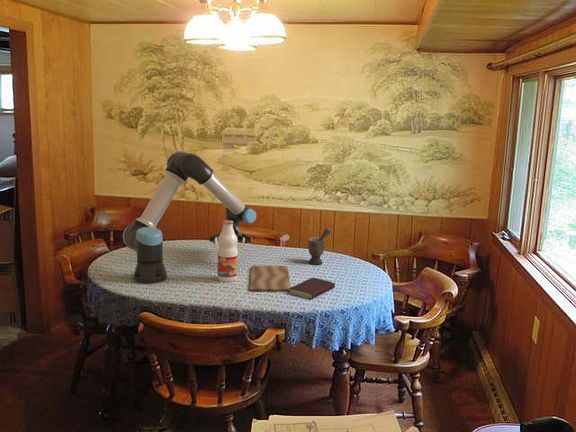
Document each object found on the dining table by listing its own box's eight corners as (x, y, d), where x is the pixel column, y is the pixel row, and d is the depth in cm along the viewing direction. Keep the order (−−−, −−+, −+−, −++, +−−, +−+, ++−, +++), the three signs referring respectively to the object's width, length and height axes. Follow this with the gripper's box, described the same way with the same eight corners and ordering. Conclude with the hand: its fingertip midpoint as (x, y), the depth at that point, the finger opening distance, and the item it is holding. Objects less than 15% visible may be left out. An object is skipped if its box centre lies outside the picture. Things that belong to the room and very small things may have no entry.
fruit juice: (241, 278, 254) (242, 220, 248) (230, 283, 245) (230, 224, 240) (225, 275, 258) (225, 218, 252) (213, 280, 250) (213, 221, 244)
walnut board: (250, 291, 235) (250, 288, 235) (251, 267, 271) (251, 265, 270) (290, 291, 236) (291, 289, 236) (287, 268, 272) (287, 265, 271)
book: (335, 289, 243) (335, 282, 242) (312, 300, 227) (312, 293, 227) (311, 283, 250) (312, 277, 249) (288, 294, 234) (288, 287, 234)
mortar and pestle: (330, 262, 285) (331, 225, 281) (328, 266, 276) (330, 229, 272) (308, 260, 286) (310, 224, 283) (306, 265, 278) (307, 227, 274)
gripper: (255, 240, 281) (255, 251, 260) (207, 240, 279) (203, 250, 259) (255, 226, 279) (255, 236, 258) (207, 226, 278) (203, 235, 257)
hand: (229, 243), depth 258 cm, fingers open, 13 cm apart
